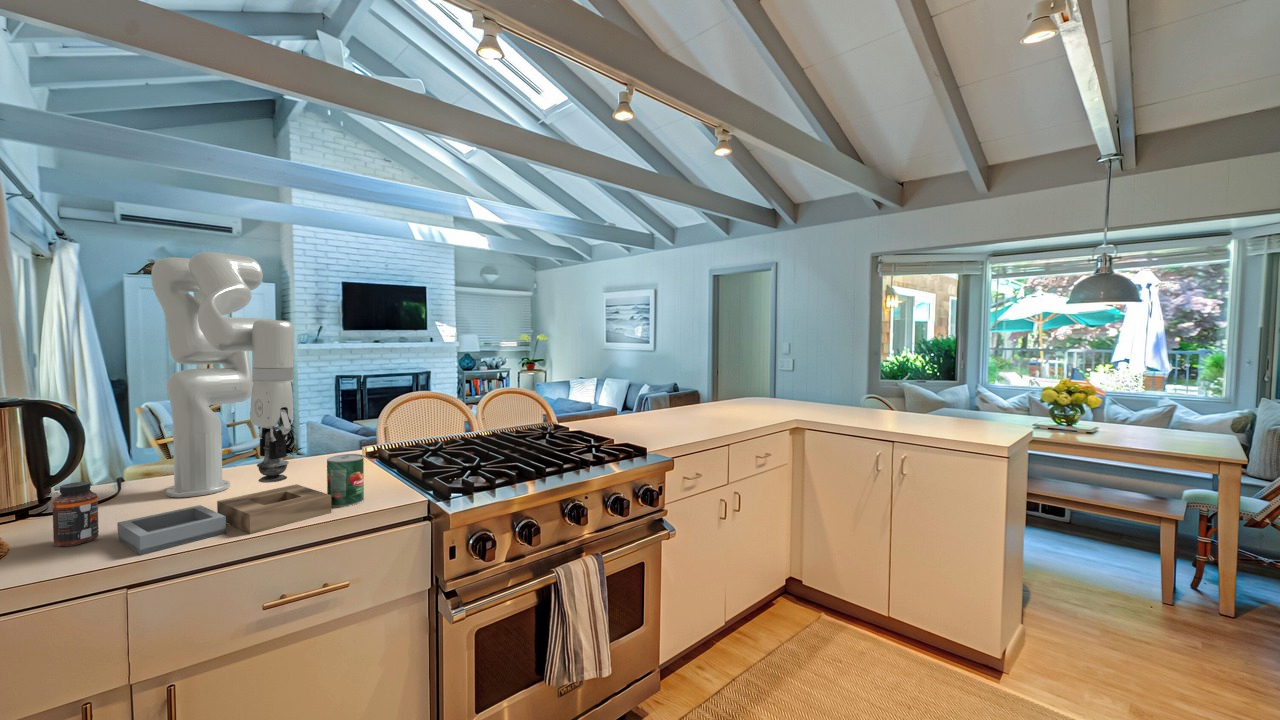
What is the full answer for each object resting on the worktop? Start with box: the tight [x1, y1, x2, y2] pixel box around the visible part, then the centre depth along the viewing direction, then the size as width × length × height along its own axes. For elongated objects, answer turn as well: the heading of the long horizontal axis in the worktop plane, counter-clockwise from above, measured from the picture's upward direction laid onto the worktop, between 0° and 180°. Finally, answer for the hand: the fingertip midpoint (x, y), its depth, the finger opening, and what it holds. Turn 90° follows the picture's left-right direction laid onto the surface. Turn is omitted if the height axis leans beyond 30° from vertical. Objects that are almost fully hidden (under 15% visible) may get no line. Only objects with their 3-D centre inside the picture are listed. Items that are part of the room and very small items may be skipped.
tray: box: [116, 504, 227, 556], centre depth 103 cm, size 13×13×4 cm
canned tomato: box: [326, 453, 365, 508], centre depth 126 cm, size 8×8×11 cm
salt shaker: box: [256, 430, 289, 484], centre depth 116 cm, size 6×6×12 cm
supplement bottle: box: [52, 481, 99, 547], centre depth 100 cm, size 6×6×11 cm
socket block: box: [216, 484, 332, 535], centre depth 116 cm, size 16×16×4 cm
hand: (273, 455), depth 116 cm, fingers closed on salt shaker, 3 cm apart
